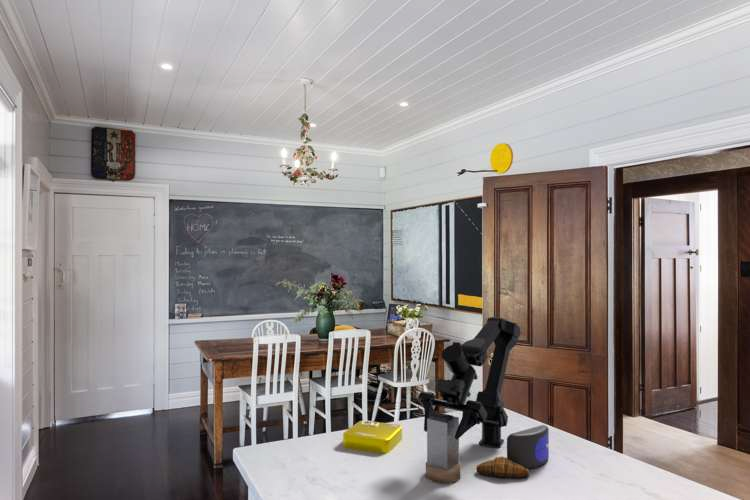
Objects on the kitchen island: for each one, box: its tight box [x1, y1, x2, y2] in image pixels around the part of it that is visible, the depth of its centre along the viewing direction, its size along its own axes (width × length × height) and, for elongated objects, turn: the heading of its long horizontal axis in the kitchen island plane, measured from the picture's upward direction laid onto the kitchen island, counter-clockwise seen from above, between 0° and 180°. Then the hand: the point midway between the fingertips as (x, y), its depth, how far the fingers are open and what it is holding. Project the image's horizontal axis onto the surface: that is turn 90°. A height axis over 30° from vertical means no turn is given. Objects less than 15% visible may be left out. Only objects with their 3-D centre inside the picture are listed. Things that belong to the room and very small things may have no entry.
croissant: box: [475, 456, 530, 479], centre depth 133 cm, size 14×7×5 cm, turn 79°
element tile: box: [342, 419, 403, 454], centre depth 156 cm, size 15×15×5 cm
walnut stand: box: [425, 461, 462, 485], centre depth 132 cm, size 9×9×3 cm
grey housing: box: [426, 412, 460, 471], centre depth 132 cm, size 6×6×12 cm
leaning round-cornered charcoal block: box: [506, 424, 550, 470], centre depth 139 cm, size 16×5×9 cm, turn 124°
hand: (440, 434), depth 131 cm, fingers open, 9 cm apart
